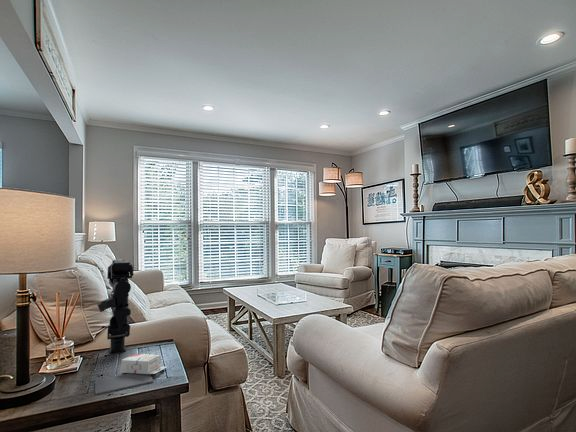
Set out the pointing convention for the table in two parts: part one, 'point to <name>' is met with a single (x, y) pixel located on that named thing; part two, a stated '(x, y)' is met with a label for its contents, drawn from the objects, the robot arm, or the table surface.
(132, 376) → the charcoal mat
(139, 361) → the ink cartridge box
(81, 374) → the table surface
